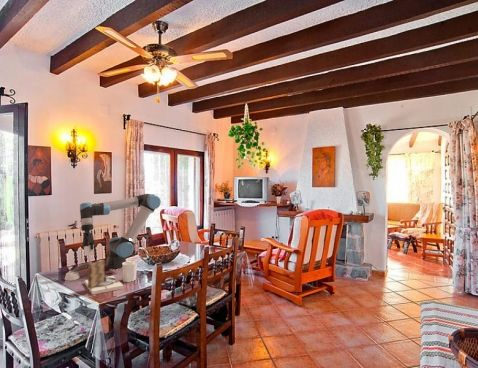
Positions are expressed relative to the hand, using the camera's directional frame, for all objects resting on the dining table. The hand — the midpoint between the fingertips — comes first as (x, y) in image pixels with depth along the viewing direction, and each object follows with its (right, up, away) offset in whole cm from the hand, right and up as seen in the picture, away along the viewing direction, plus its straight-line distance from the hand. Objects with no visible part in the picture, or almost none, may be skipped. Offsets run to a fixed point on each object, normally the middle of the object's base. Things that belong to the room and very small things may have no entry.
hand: (89, 255), depth 199 cm
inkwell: (-9, -17, +3) cm, 19 cm away
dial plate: (+16, -17, -12) cm, 26 cm away
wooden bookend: (+15, -15, -15) cm, 26 cm away
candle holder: (+28, -18, 0) cm, 33 cm away
